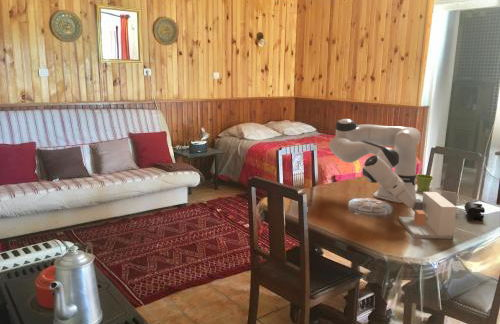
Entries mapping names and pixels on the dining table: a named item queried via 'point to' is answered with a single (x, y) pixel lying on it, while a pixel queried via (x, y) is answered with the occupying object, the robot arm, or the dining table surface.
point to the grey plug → (418, 205)
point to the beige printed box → (450, 196)
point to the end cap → (474, 211)
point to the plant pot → (423, 182)
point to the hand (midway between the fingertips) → (412, 206)
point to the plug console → (433, 218)
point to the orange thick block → (420, 217)
